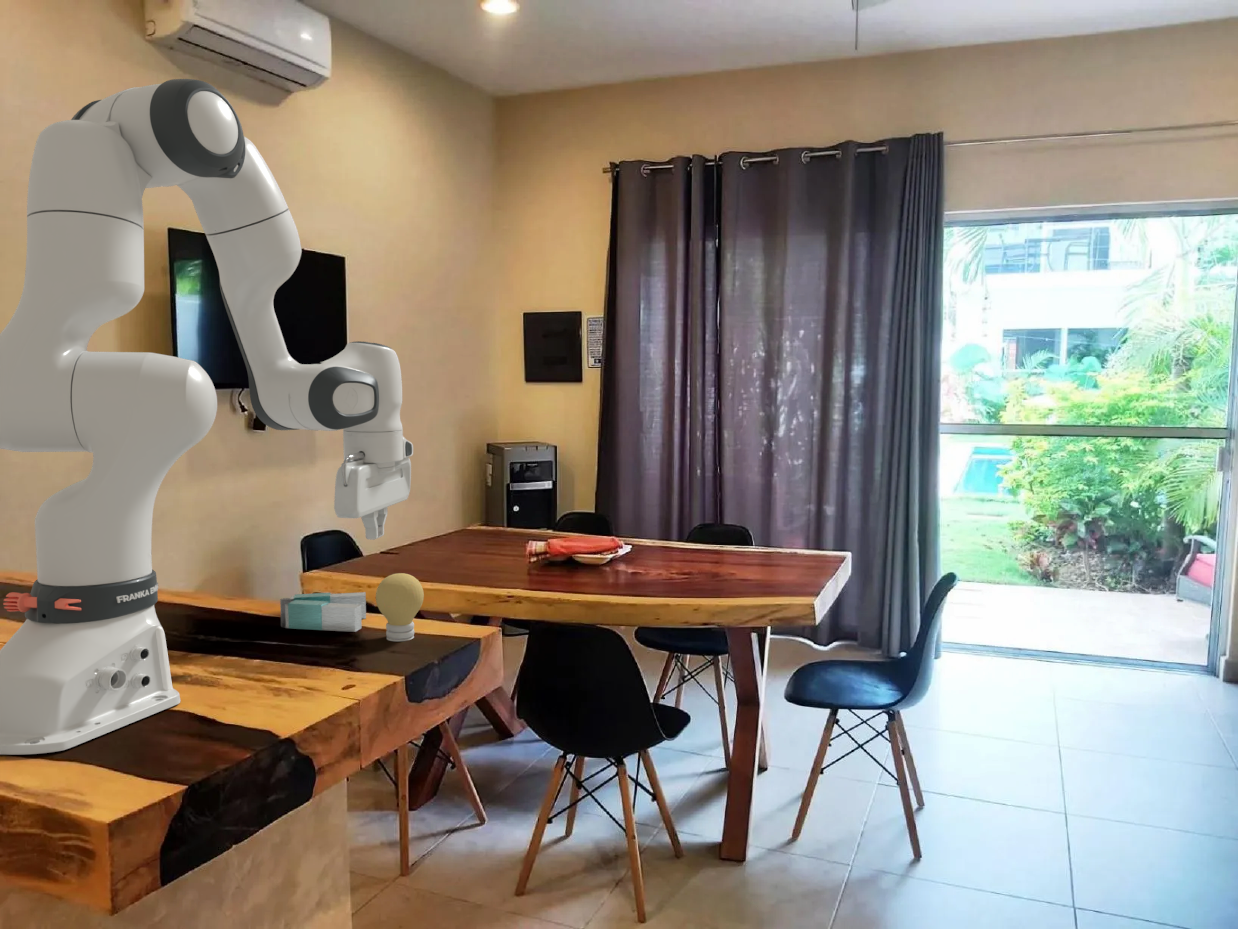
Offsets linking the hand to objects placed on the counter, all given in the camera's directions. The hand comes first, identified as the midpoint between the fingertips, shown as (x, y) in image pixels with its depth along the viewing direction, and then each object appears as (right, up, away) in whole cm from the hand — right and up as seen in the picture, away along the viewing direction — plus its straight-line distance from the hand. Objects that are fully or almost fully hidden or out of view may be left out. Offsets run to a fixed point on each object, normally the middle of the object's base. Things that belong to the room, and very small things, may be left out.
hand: (374, 537), depth 139 cm
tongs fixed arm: (-5, -12, -11) cm, 17 cm away
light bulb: (+8, -14, -16) cm, 22 cm away
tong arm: (-5, -11, -7) cm, 14 cm away
